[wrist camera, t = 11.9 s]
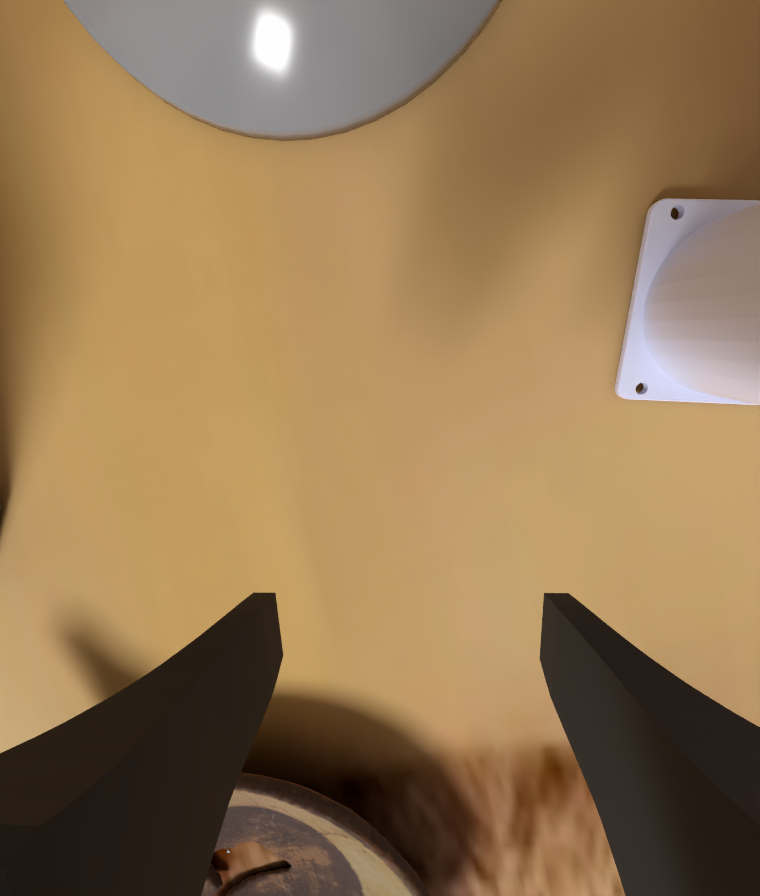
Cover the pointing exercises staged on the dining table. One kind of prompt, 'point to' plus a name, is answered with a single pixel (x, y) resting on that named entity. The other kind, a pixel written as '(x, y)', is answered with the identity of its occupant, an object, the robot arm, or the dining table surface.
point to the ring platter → (285, 56)
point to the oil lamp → (309, 845)
